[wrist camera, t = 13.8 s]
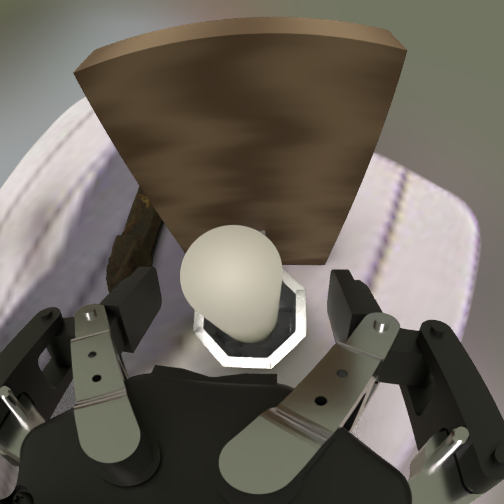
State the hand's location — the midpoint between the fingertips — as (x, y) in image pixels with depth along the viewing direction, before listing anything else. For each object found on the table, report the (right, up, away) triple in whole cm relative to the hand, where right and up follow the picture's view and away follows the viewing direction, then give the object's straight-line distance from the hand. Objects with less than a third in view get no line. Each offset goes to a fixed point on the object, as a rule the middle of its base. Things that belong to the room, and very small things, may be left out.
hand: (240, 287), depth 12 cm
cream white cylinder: (+1, -4, +8) cm, 9 cm away
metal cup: (+1, -3, +9) cm, 9 cm away
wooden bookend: (+1, +3, +14) cm, 14 cm away
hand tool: (-9, +4, +16) cm, 19 cm away
